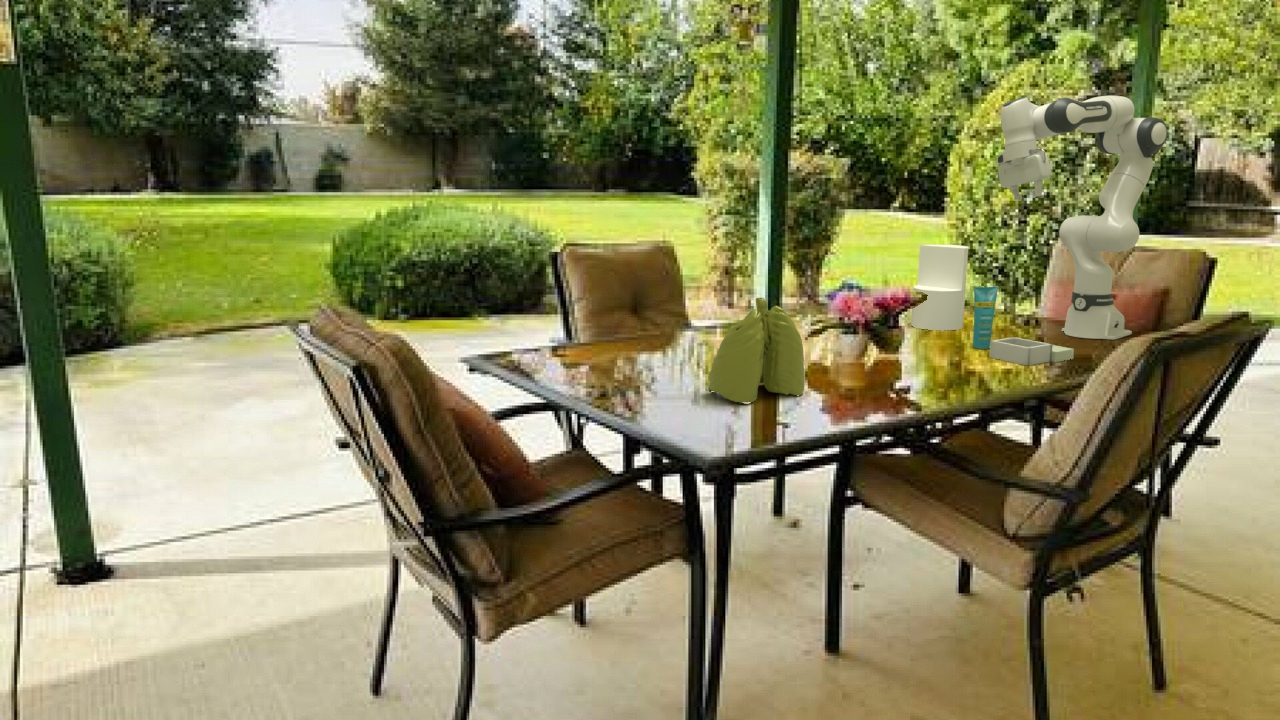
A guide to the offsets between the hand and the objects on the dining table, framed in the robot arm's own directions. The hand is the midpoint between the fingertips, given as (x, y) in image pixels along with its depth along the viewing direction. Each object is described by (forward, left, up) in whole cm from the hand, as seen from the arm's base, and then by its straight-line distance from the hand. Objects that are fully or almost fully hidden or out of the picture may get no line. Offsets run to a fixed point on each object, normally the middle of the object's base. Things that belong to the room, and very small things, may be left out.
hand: (1027, 198), depth 274 cm
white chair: (-5, -36, -46) cm, 59 cm away
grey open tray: (+12, +14, -46) cm, 49 cm away
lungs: (+106, +5, -46) cm, 116 cm away
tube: (+12, -3, -46) cm, 47 cm away
